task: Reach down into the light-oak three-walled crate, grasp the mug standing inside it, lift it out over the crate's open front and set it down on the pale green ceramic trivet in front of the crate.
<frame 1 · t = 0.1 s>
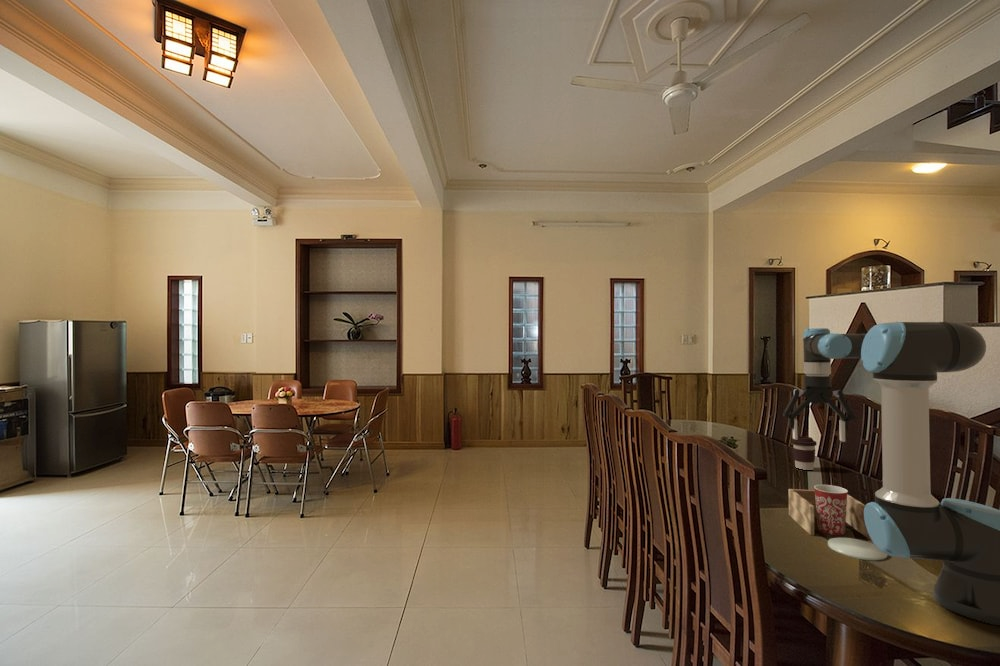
hand: (818, 440, 163), 28 cm above the table, fingers open, 13 cm apart
trivet: (856, 549, 144), on the table
coffee cup: (804, 469, 234), on the table
mug: (831, 530, 159), on the table
crate: (827, 526, 162), on the table
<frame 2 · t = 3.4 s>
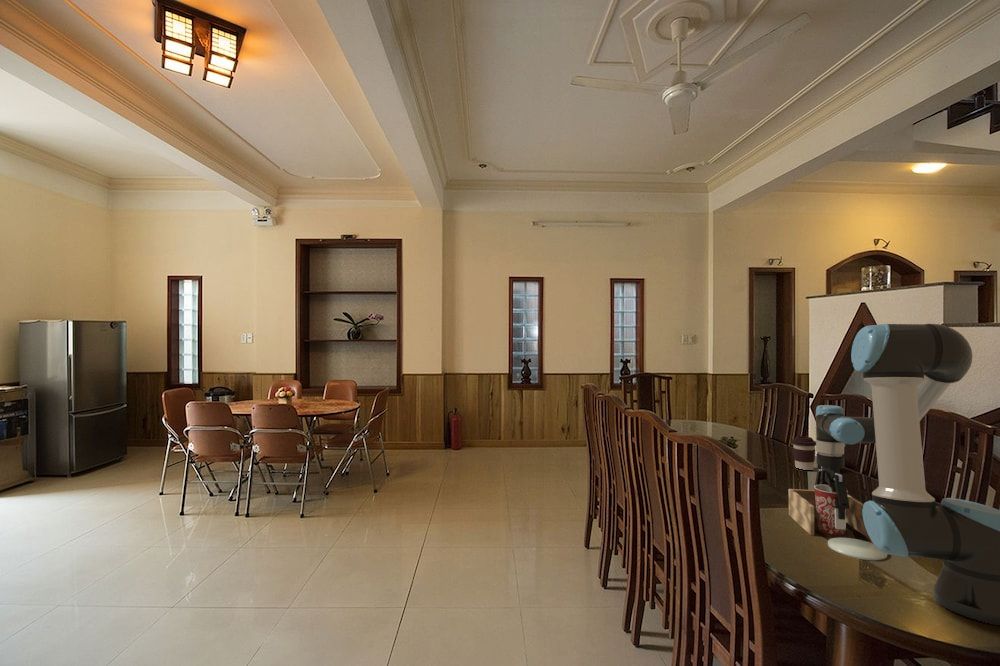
hand: (831, 521, 160), 2 cm above the table, fingers closed on mug, 12 cm apart
mug: (831, 530, 159), on the table, touching gripper
everything else where it was.
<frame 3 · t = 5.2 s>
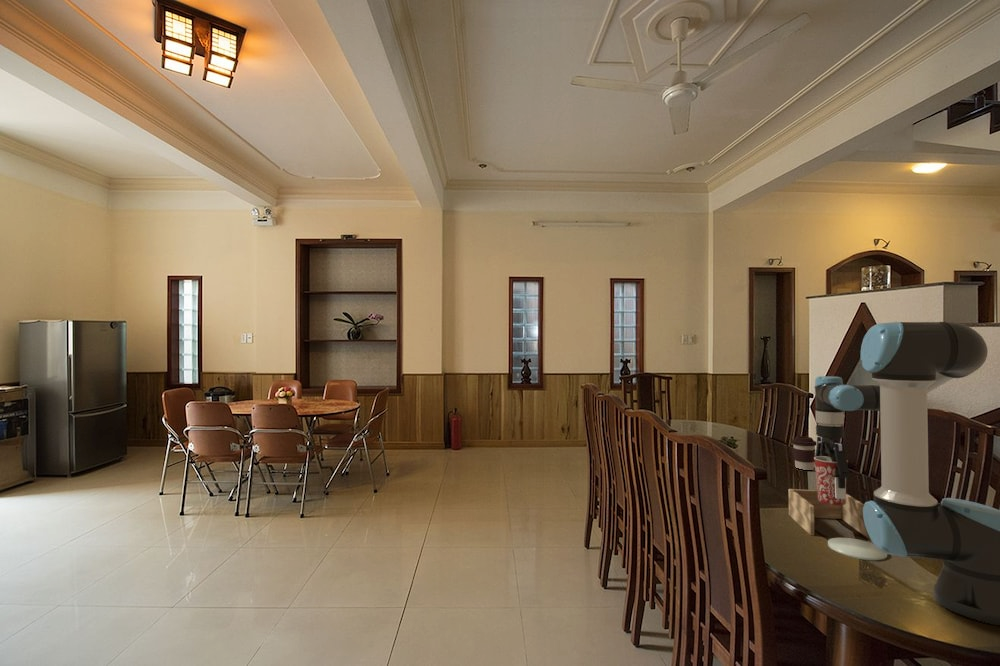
hand: (831, 492, 159), 12 cm above the table, fingers closed on mug, 12 cm apart
mug: (832, 501, 159), point 9 cm above the table, touching gripper
everything else where it was.
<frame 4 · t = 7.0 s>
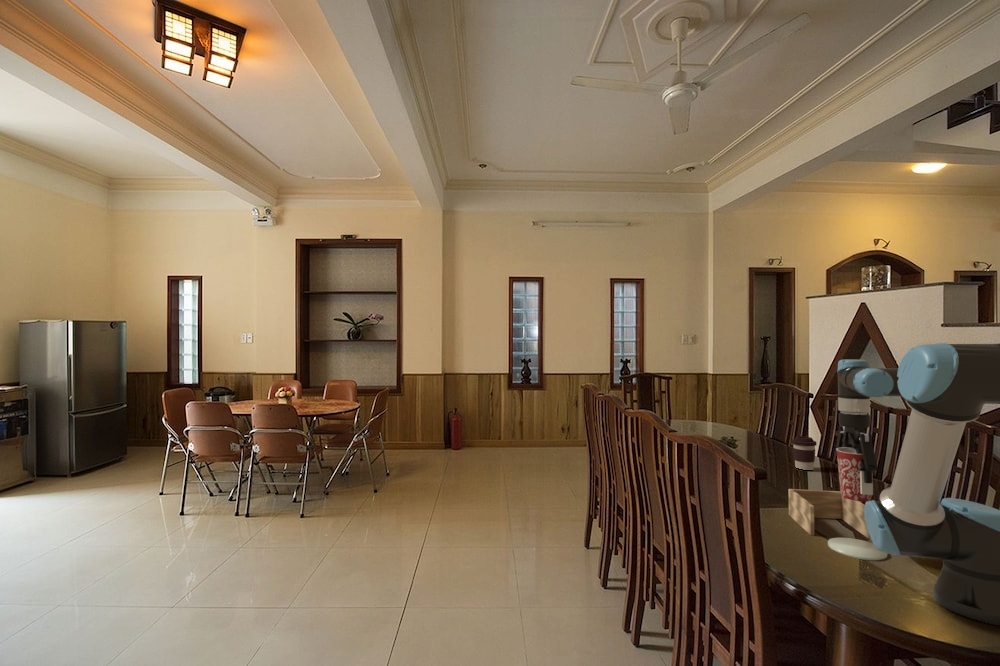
hand: (855, 487, 144), 18 cm above the table, fingers closed on mug, 12 cm apart
mug: (856, 496, 144), point 15 cm above the table, touching gripper
everything else where it was.
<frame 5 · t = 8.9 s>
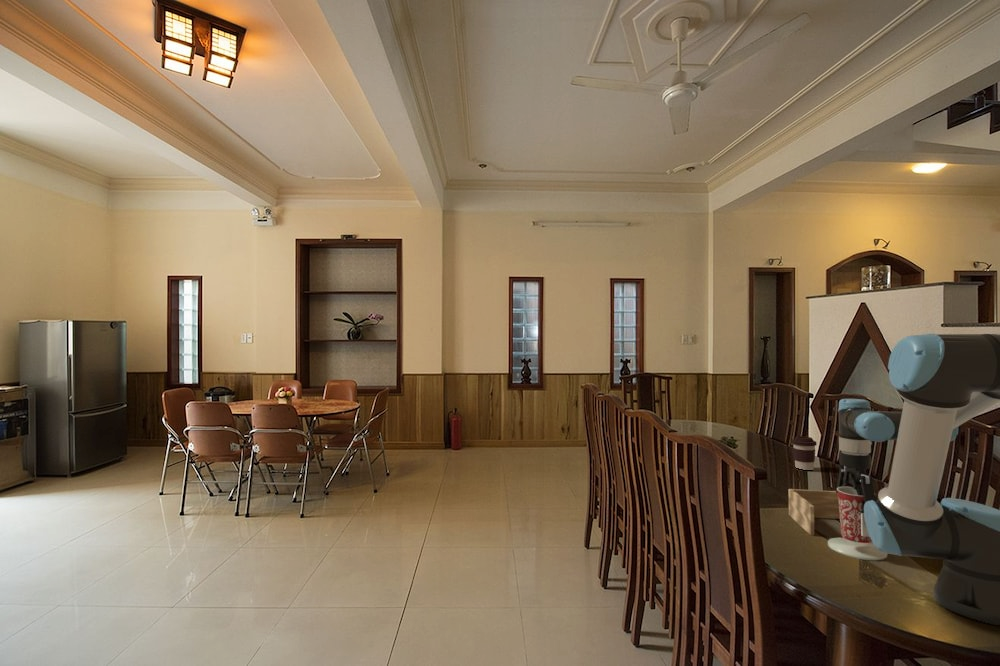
hand: (856, 527, 144), 6 cm above the table, fingers closed on mug, 12 cm apart
mug: (856, 537, 144), point 4 cm above the table, touching gripper
everything else where it was.
when the fingers open (5 cm above the table, at t = 10.4 s): mug drops 2 cm, resting on trivet.
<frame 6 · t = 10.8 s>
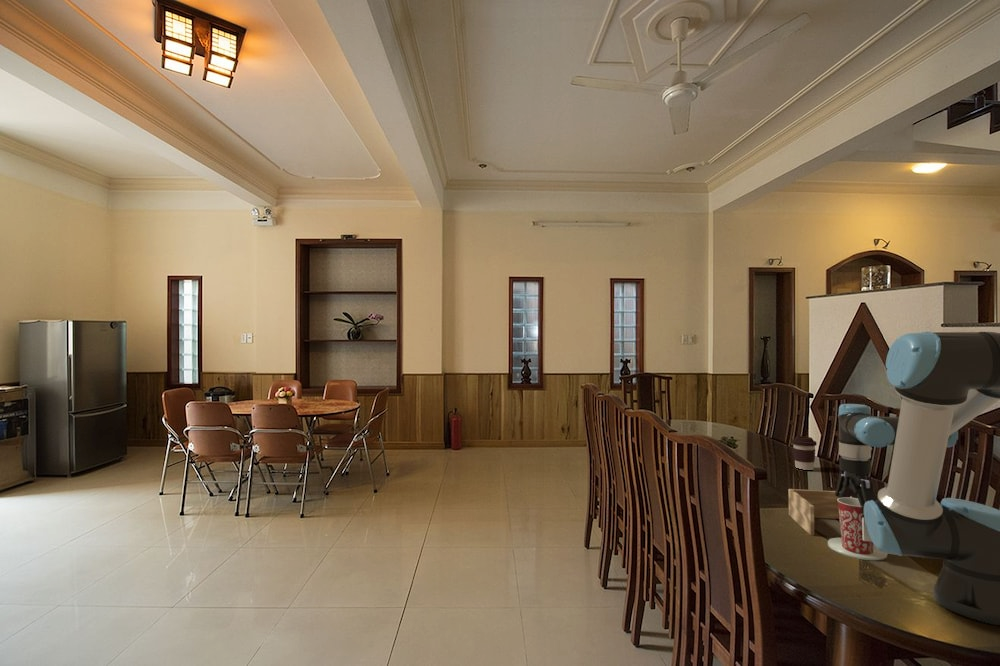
hand: (856, 531, 144), 5 cm above the table, fingers open, 13 cm apart
mug: (857, 548, 143), point 1 cm above the table, touching trivet
everything else where it was.
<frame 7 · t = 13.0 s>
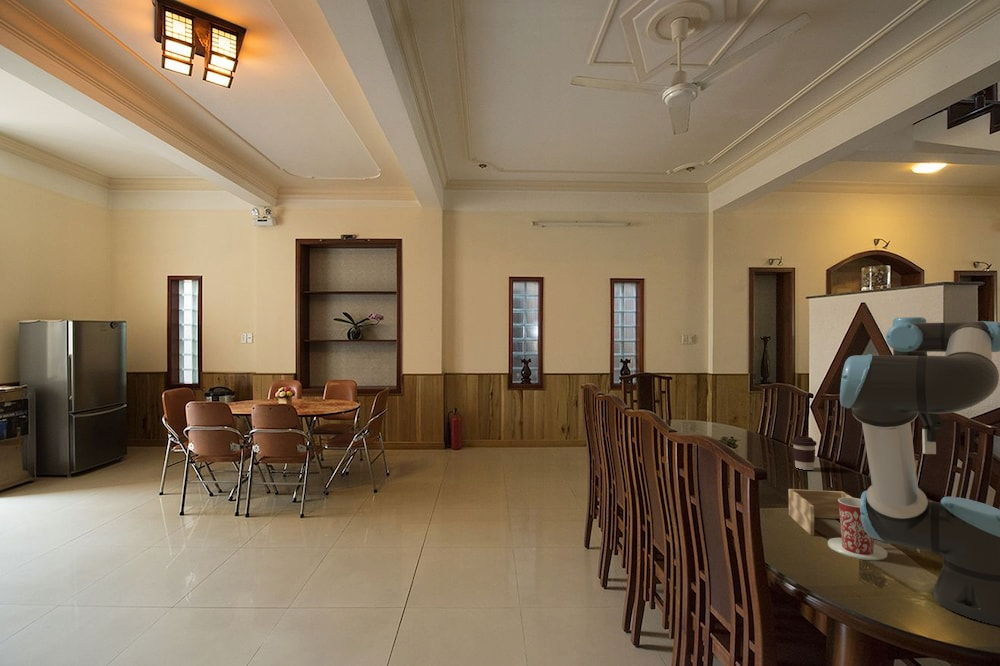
hand: (911, 448, 139), 30 cm above the table, fingers open, 13 cm apart
nothing on the table moved.
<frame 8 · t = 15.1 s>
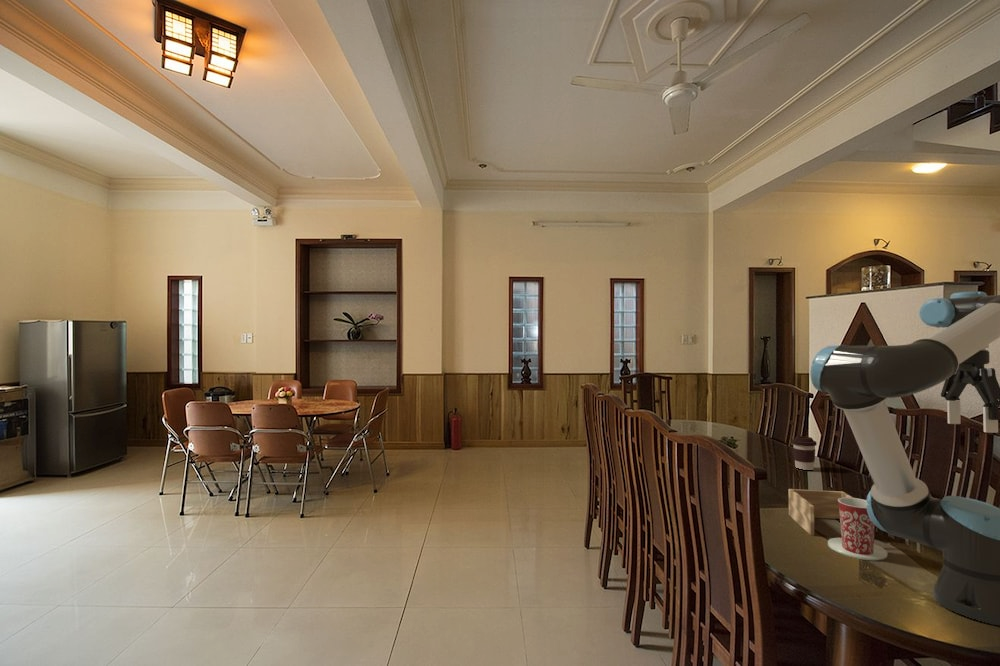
hand: (971, 428, 134), 37 cm above the table, fingers open, 13 cm apart
nothing on the table moved.
at the end: mug inside the target area on the trivet (0.4 cm from its centre), point 0.6 cm above the trivet's base; mug tilted 0°; the gripper is holding nothing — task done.
